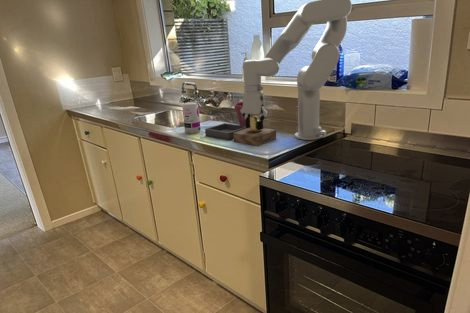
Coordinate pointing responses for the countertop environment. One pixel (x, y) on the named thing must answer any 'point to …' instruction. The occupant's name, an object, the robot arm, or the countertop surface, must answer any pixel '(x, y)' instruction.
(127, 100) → the countertop surface
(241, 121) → the plant pot
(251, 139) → the wooden block with hole
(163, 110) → the countertop surface
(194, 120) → the supplement can
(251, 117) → the brass pin
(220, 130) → the black tray
